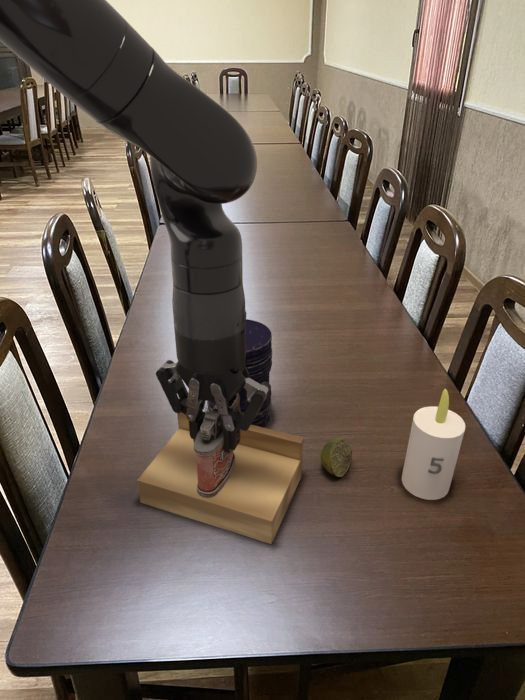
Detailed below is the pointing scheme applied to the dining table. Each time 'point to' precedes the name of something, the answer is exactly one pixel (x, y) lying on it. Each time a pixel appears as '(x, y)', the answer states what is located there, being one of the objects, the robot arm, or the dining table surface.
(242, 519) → the shelf
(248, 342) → the dark blue cylinder
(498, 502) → the dining table surface
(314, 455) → the dining table surface
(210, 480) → the lighter
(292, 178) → the dining table surface
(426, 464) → the candle
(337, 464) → the lime
